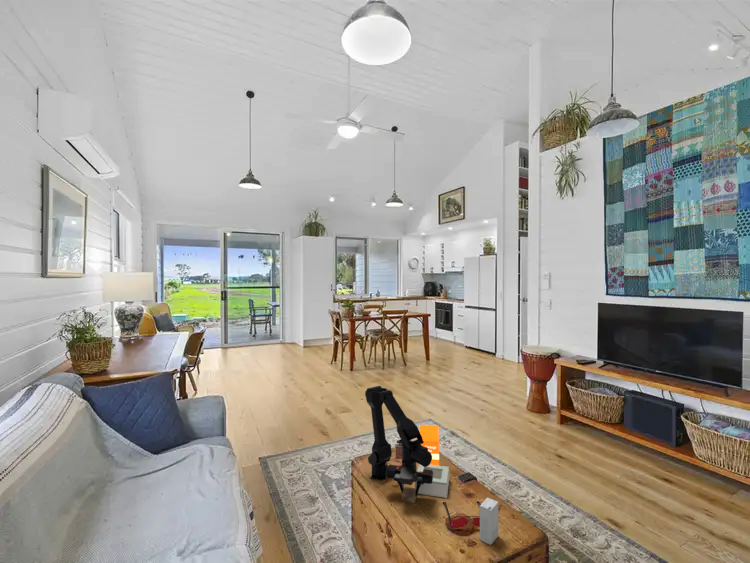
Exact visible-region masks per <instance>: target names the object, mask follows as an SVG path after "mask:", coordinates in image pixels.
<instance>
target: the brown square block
mask: <svg viewBox="0 0 750 563" xmlns="http://www.w3.org/2000/svg"><path fill="white" fill-rule="evenodd" d="M417 497H418V495H417V496H416V488H415V487H410V486H404V490H403V492H401V501H402V502H406V503H411V504H415V503H416V500H417Z"/></svg>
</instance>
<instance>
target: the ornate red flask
mask: <svg viewBox="0 0 750 563" xmlns="http://www.w3.org/2000/svg"><path fill="white" fill-rule="evenodd" d="M399 440H400V439H396V444H394V447H395V459H402V444H401V443H399ZM395 459H394V460H395Z"/></svg>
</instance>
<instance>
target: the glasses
mask: <svg viewBox="0 0 750 563" xmlns="http://www.w3.org/2000/svg"><path fill="white" fill-rule="evenodd" d="M476 503H477V504H479V506H480V505H481V504H482V503H481V502H480V501H479V500H477V501H476ZM442 504H444V505H445V509H446V512H447V515H448V518H449V521H450V526H451V527H452V528H454V529H455V528H459V527H465V526H467V525H468V523H469V522H470V520H469V519H467V518H472V522H471V524H472V525H473V526H475V527H478V528H480V515H473V516H472V515H466V516H463V515H462V516H454V517H452V518H451V516H450V515H451V514H450V512H449V509H448V505H447V502H446V501H443V502H442ZM455 518H456V519H455Z"/></svg>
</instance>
